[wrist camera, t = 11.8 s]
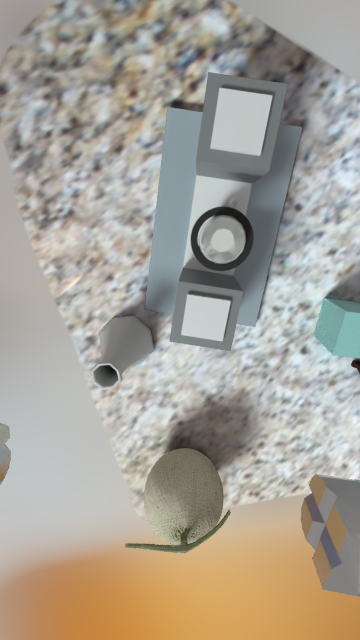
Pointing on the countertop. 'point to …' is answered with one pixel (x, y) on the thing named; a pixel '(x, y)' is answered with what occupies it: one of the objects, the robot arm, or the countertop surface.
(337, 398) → the countertop surface
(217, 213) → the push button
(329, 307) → the block
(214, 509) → the fruit
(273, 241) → the gray block stand
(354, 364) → the mate gourd
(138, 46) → the countertop surface
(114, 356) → the flask
